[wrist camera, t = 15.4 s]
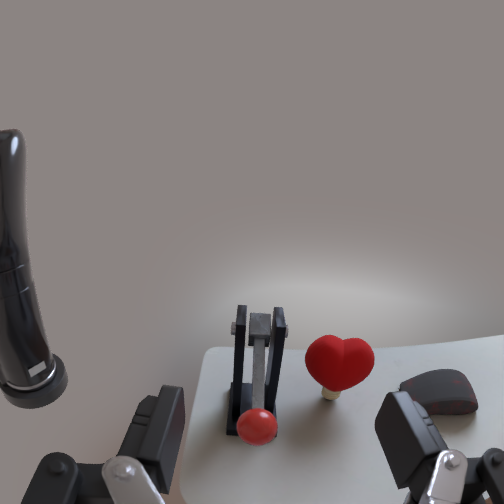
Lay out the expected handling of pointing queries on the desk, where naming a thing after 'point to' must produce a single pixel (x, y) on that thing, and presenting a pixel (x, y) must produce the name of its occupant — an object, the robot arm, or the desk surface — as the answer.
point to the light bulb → (338, 363)
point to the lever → (258, 387)
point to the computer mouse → (442, 392)
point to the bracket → (243, 391)
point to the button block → (488, 501)
